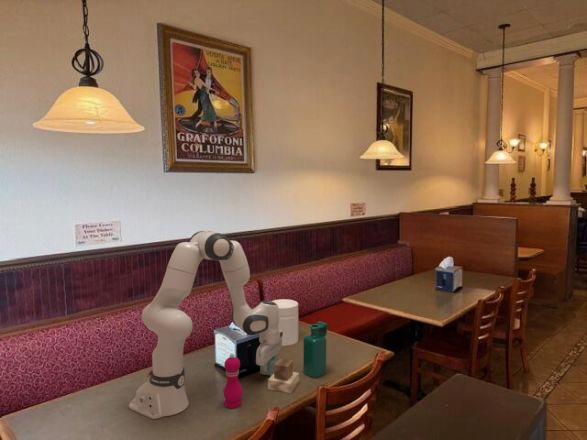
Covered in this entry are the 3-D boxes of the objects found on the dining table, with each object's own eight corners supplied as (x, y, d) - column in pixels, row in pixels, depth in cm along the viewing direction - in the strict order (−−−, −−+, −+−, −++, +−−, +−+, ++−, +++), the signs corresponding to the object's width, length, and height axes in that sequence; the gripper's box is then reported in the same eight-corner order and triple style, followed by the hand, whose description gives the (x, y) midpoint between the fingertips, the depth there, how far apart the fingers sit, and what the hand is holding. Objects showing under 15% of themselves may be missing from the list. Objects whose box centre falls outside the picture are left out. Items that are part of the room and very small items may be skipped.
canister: (302, 336, 228) (302, 300, 226) (292, 347, 213) (291, 309, 211) (275, 332, 233) (275, 298, 231) (263, 343, 218) (263, 306, 216)
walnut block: (274, 378, 171) (274, 364, 171) (279, 372, 177) (279, 358, 176) (287, 380, 169) (287, 366, 169) (292, 374, 175) (292, 360, 174)
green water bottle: (314, 379, 179) (314, 330, 177) (301, 372, 185) (301, 324, 183) (330, 372, 185) (330, 324, 183) (317, 365, 192) (317, 319, 189)
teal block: (260, 373, 182) (260, 360, 182) (266, 367, 188) (266, 355, 187) (272, 375, 180) (272, 362, 180) (278, 370, 186) (278, 357, 185)
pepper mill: (238, 409, 155) (238, 358, 153) (220, 407, 157) (219, 357, 155) (244, 399, 162) (244, 350, 160) (227, 397, 164) (226, 349, 162)
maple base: (268, 388, 171) (267, 379, 170) (277, 378, 180) (277, 369, 179) (290, 393, 167) (290, 383, 167) (299, 382, 176) (299, 373, 176)
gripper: (265, 346, 172) (265, 378, 173) (284, 330, 191) (284, 359, 192) (252, 344, 174) (252, 376, 175) (272, 328, 193) (272, 357, 194)
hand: (269, 367), depth 184 cm, fingers closed on teal block, 6 cm apart
